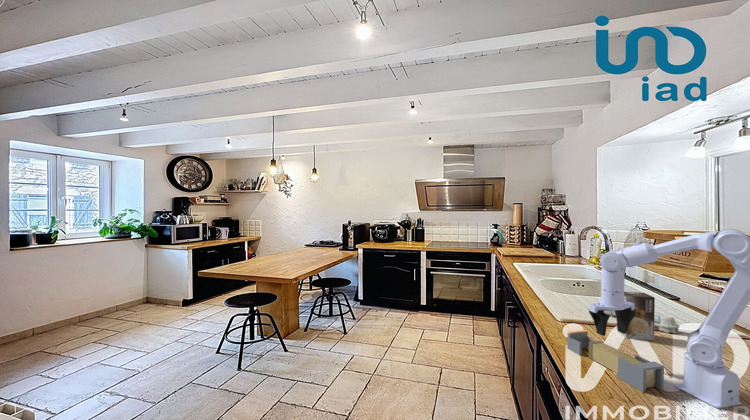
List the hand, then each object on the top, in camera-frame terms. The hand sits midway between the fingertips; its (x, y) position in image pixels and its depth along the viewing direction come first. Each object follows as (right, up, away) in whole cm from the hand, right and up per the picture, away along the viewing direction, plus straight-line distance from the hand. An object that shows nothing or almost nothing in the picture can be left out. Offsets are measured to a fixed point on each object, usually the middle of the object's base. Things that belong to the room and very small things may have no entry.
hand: (611, 333), depth 96 cm
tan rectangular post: (0, -10, -4) cm, 11 cm away
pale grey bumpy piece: (+37, -9, +33) cm, 50 cm away
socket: (-3, -10, +9) cm, 14 cm away
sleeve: (+1, -10, -9) cm, 14 cm away
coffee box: (+25, -10, +21) cm, 34 cm away
